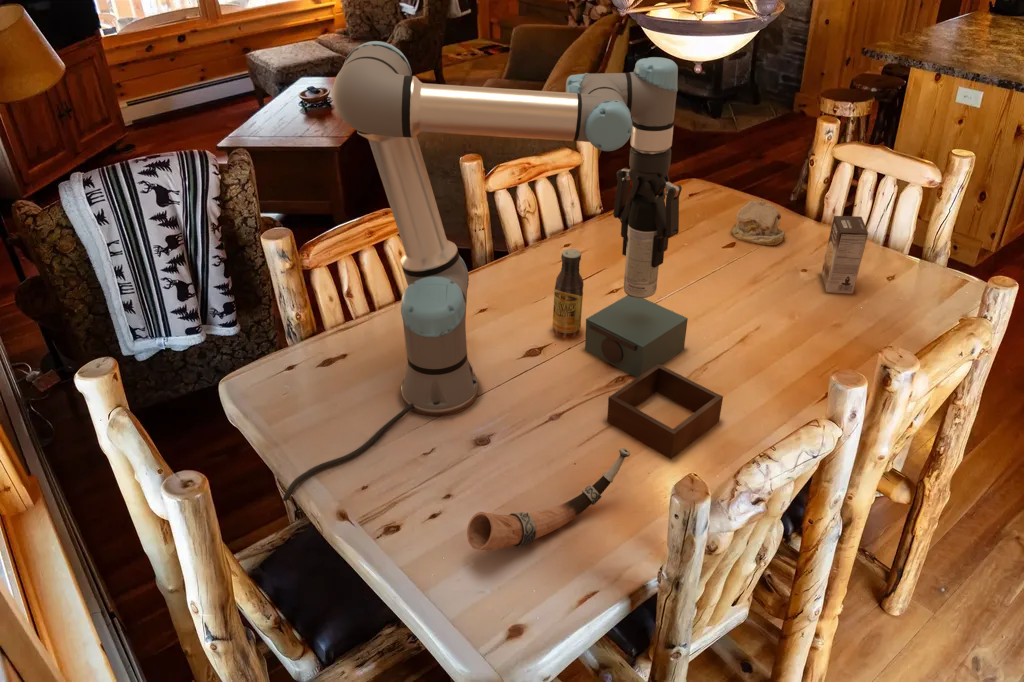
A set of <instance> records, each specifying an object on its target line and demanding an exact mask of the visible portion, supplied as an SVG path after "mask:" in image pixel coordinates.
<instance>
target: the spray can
mask: <svg viewBox="0 0 1024 682" xmlns="http://www.w3.org/2000/svg"><path fill="white" fill-rule="evenodd" d="M656 197H657V196H656ZM655 212H656V208H655V207H654V206H652V205H651V204H650V203H649V199H648V197H646V196H645V195H642V196H640V197H638V198H636V199H631V200H630V209H629V221H628V234H627V248H626V255H625V262H624V263H625V264H624V277H623V278H624V279H623V291H624V293H625V295H626V296H627V295H629V296H630V297H635V298H644V299H647V298H650V297H653V296H654V295H655V294H656V292H657V288H658V278H659V267H660V265H659V266H657V267H655V268H654V267H652V255H653V243H654V236H656V235H658V234H657V229H656V224H655Z"/></svg>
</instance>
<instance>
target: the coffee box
mask: <svg viewBox="0 0 1024 682" xmlns="http://www.w3.org/2000/svg"><path fill="white" fill-rule="evenodd" d="M868 237H869V232H868V229H867V227H866V224H865V222H864V220H863V217H862V216H856V215H855V216H854V215H834V216H833V218H832V223H831V228H830V232H829V237H828V240H827V241H828V242H827V246H826V250H825V255H824V259H823V265H822V269H821V275H820V276H821V278H822V282H823V286H824V289H825V291H826V293H829V294H830V293H831V294H833V293H834V294H847V295H848V294H849V295H850V294H851V295H853V294H854V290H855V286H856V283H857V278H858V275H859V270H860V267H861V263H862V259H863V256H864V251H865V248H866V245H867V240H868Z"/></svg>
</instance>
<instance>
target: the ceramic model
mask: <svg viewBox="0 0 1024 682" xmlns="http://www.w3.org/2000/svg"><path fill="white" fill-rule="evenodd" d="M735 217H736V218H735V220H736V221H737V222H736V224H735V226H734V227H733V228H732V230H731V232H732V236H734V238H736V239H738V240H740V241H743V242H748V243H752V244H757V245H764V246H777V245H779V244H780V243H782V242H783V240H784V238H785V235H786V231H785V230H784V229H780V228H779V226H780V225H781V222H780V220H781V219H782V214H781V212H780V211H779V210H778V209H777V208H776V207H775V206H774V205H772V204H769V203H766V200H765V199H760V200H759V201H757V200H749V201H748V203H746V204H745V205H743V206H741V208H739V209H738V211H737V214H736V215H735Z"/></svg>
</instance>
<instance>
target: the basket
mask: <svg viewBox="0 0 1024 682" xmlns="http://www.w3.org/2000/svg"><path fill="white" fill-rule="evenodd" d="M656 393H657V394H659V395H661V396H663V397H665V398H667V399H669V400H670V401H673V402H675V403H676V404H678V405H680V406H682V407H684V408H686V409H688V410H689V411H691V412H693V413H692V414H691V415H689V416H688V417H687V418H686V419H684V420H683V421H681V423H678V424H677V425H676V426H675V427H673V428H672V427H670V426H669V425H667V424H665V423H664V422H661V421H660V420H658V419H656V418H654V417H653V416H651V415H648V413H646V412H644V411H642V410H640V409H638V408H636V407H638V406H639V405H640V404H642V403H643V402H644V401H646V400H647V399H649V398H650V397H652V396H653V395H655V394H656ZM723 400H724V396H722V395H721V394H719V393H717V392H715V391H714V390H711V389H709V388H707V387H705V386H703V385H701V384H699V383H697V382H695V381H693V380H691V379H689V378H687V377H685V376H683V375H681V374H679V373H678V372H676V371H674V370H671V369H670V368H667V367H666V366H664V365H663V364H662V365H660V364H657V365H656V366H654V367H653V368H651V369H650V370H648V371H647V372H645V373H644V374H642V375H641V376H639V377H638V378H636V377H635V379H633V380H632V381H630V382H629V383H627V384H626V385H624V386H623V387H621V388H620V389H618V390H617V391H615V392H614V393H612V394H610V395H609V396H608V400H607V403H608V404H607V413H606V415H607V417H606V422H607V423H608V424H610V425H611V426H614V427H615V428H617V429H618V430H620V431H622V432H624V433H625V434H627V435H629V436H630V437H632V438H633V439H636V440H637V441H639V442H640V443H642V444H644V445H645V446H647V447H649V448H651V449H652V450H654V451H656V452H657V453H659V454H661V455H662V456H664V457H666V458H668V459H669V460H672V459H674V458H675V457H677V455H680V453H682V452H683V451H684V450H686V449H687V448H688V447H690V445H692V444H693V443H694V442H696V441H697V440H698V439H699V438H700V437H702V436H703V435H704V434H705V433H707V432H708V431H710V430H711V429H712V428H713V427H715V426H716V425H717V424H718V423H719V422H720V419H721V412H722V406H723Z"/></svg>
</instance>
